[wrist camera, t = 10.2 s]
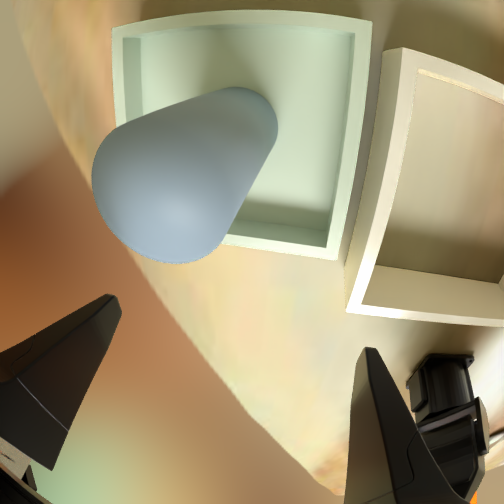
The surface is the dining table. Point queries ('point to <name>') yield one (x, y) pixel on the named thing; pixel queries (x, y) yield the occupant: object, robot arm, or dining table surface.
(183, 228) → the cylinder
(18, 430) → the robot arm
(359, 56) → the tray
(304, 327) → the dining table surface
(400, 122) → the cream square bin
